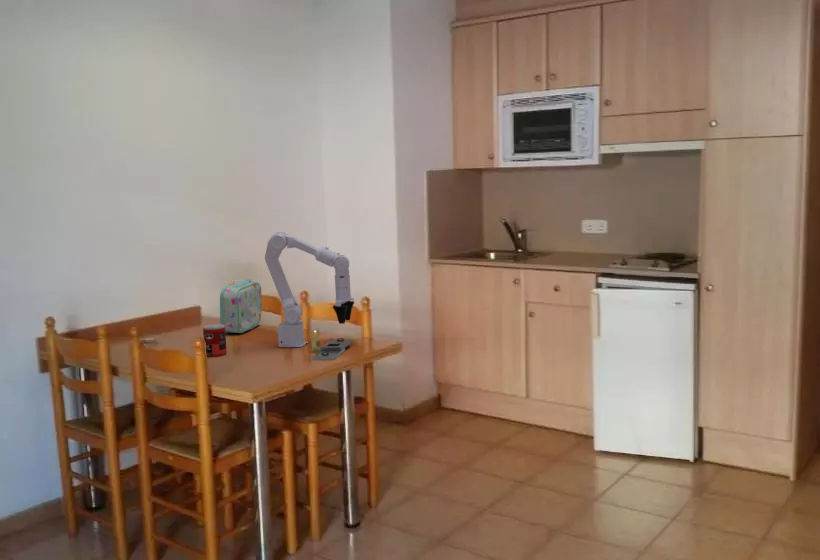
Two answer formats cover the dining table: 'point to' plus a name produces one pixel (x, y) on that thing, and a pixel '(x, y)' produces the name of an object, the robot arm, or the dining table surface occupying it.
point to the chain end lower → (327, 355)
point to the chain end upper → (336, 344)
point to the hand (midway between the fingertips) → (344, 321)
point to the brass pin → (315, 340)
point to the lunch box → (240, 306)
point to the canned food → (215, 340)
